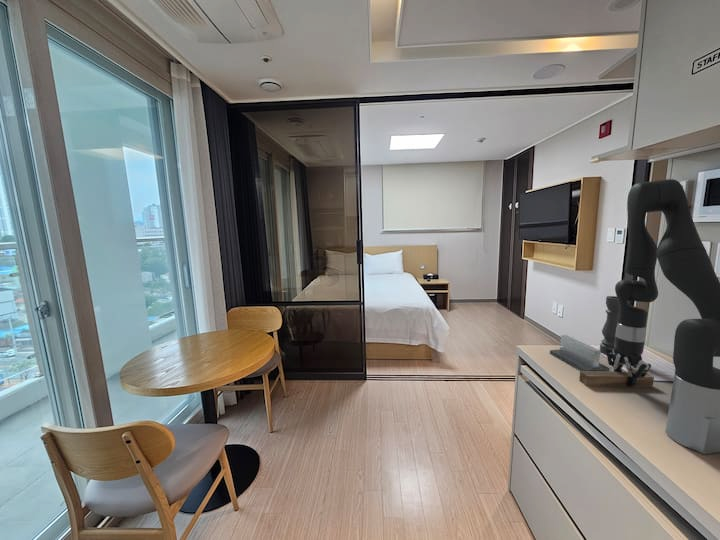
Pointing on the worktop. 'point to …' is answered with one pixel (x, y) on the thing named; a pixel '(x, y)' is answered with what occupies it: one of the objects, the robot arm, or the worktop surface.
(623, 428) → the worktop surface
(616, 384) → the walnut beam
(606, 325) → the candle holder
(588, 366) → the stand
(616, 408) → the worktop surface
